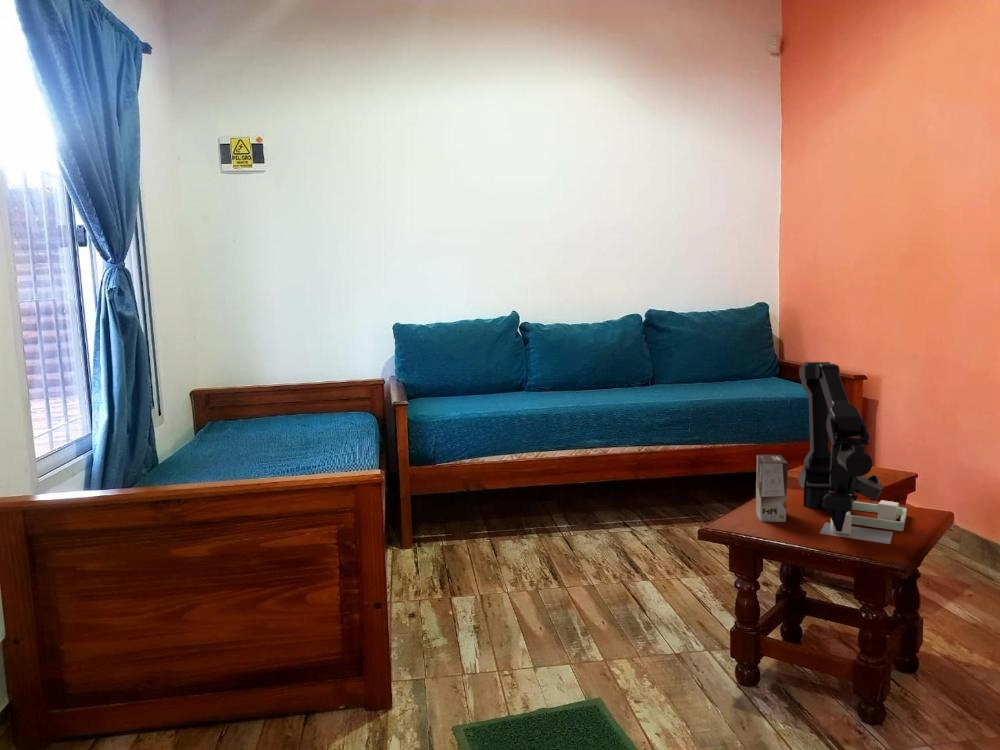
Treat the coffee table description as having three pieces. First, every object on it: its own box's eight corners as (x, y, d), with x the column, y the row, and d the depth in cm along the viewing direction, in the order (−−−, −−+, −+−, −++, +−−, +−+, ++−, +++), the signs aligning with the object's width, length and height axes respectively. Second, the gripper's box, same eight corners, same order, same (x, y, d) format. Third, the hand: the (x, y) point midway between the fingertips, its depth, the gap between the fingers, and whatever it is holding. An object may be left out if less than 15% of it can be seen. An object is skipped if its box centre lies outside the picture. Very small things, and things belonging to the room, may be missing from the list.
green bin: (830, 524, 189) (831, 513, 189) (837, 510, 200) (838, 499, 200) (902, 535, 181) (903, 523, 181) (906, 519, 192) (906, 508, 192)
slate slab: (819, 537, 181) (819, 533, 180) (825, 526, 188) (825, 522, 188) (889, 548, 173) (890, 543, 173) (892, 536, 180) (893, 532, 180)
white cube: (832, 532, 181) (833, 514, 180) (830, 526, 185) (831, 509, 184) (850, 533, 180) (851, 515, 179) (848, 528, 184) (849, 510, 183)
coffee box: (786, 525, 189) (789, 463, 187) (760, 524, 190) (762, 462, 188) (779, 514, 198) (781, 454, 196) (754, 513, 199) (755, 453, 197)
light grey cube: (877, 519, 191) (878, 503, 190) (880, 516, 193) (881, 500, 193) (895, 522, 188) (896, 506, 188) (897, 518, 191) (898, 502, 190)
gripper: (877, 478, 168) (873, 546, 170) (884, 460, 184) (881, 522, 186) (823, 472, 174) (820, 538, 176) (834, 455, 189) (832, 515, 192)
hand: (840, 528), depth 182 cm, fingers closed on white cube, 5 cm apart
